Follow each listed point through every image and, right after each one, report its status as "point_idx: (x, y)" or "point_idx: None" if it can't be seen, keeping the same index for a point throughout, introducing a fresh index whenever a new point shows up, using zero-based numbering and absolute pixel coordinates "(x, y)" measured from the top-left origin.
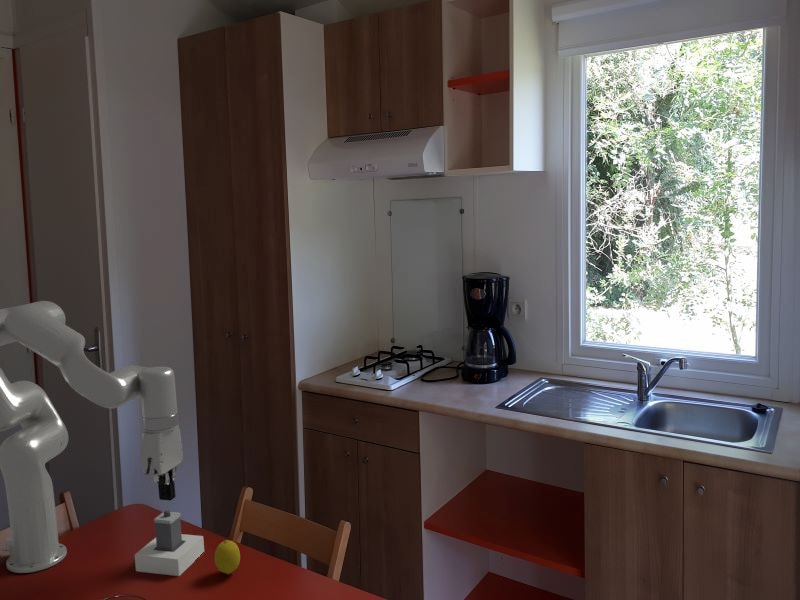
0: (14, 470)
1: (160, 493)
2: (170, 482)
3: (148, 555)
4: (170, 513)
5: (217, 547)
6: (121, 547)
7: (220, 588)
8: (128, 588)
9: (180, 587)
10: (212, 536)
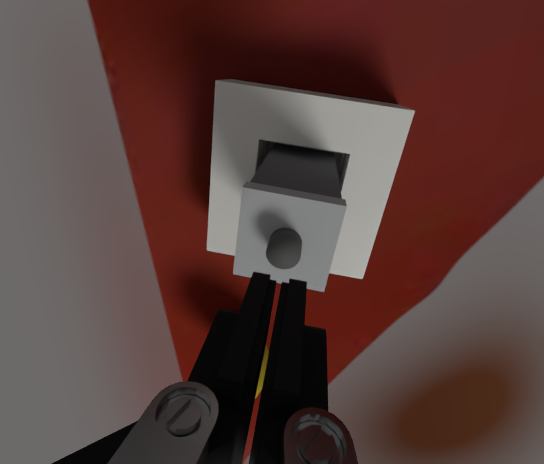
0: None
1: (212, 327)
2: (257, 461)
3: (216, 142)
4: (315, 248)
5: None
6: None
7: (187, 327)
8: (139, 107)
9: (174, 247)
10: (464, 245)
